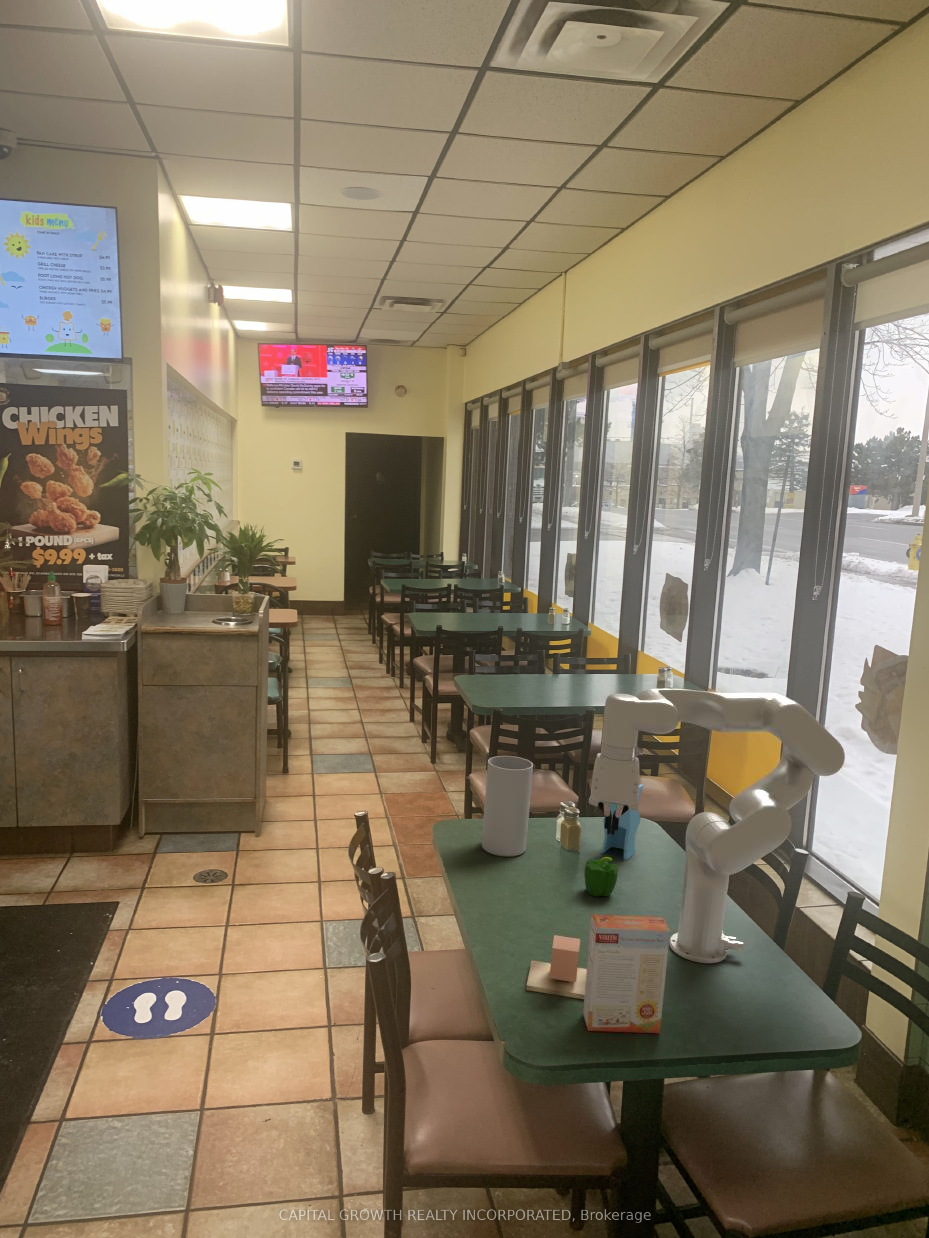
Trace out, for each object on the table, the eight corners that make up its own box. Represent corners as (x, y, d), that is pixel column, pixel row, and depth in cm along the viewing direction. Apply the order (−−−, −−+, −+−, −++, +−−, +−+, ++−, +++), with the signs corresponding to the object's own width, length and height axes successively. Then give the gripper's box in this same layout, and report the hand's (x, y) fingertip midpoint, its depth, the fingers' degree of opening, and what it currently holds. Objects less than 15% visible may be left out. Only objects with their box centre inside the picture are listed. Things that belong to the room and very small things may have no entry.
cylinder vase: (505, 836, 260) (511, 753, 256) (534, 851, 250) (542, 765, 246) (472, 845, 252) (478, 759, 248) (501, 861, 242) (509, 772, 238)
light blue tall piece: (636, 851, 256) (644, 784, 253) (626, 860, 249) (633, 791, 246) (611, 844, 260) (617, 778, 257) (600, 852, 253) (607, 784, 250)
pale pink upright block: (577, 968, 186) (580, 938, 185) (576, 982, 181) (579, 951, 180) (551, 964, 187) (554, 935, 186) (549, 978, 181) (552, 947, 180)
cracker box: (652, 1016, 174) (663, 915, 171) (660, 1035, 168) (672, 931, 165) (581, 1012, 174) (591, 911, 171) (586, 1031, 168) (597, 927, 165)
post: (597, 975, 188) (601, 939, 186) (596, 1001, 178) (599, 963, 177) (531, 964, 190) (534, 929, 189) (526, 989, 180) (529, 952, 179)
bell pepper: (574, 890, 227) (578, 853, 226) (595, 883, 233) (599, 846, 231) (600, 903, 221) (604, 865, 220) (621, 895, 227) (625, 858, 225)
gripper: (653, 750, 195) (644, 830, 198) (584, 742, 198) (577, 822, 200) (654, 760, 188) (645, 843, 191) (583, 752, 190) (575, 834, 193)
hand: (610, 832), depth 195 cm, fingers closed
